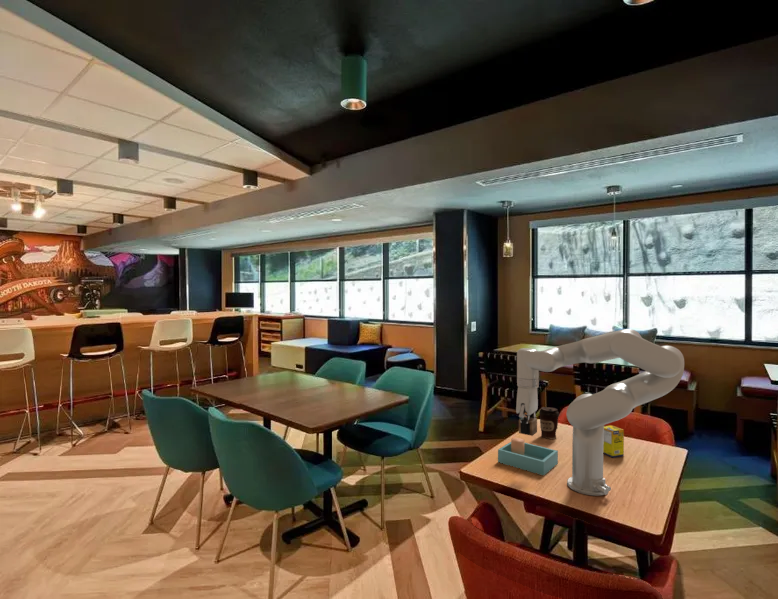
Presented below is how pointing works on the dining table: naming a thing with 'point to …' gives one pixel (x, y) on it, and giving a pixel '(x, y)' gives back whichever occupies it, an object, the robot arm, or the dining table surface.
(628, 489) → the dining table surface
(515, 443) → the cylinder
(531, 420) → the cube
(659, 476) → the dining table surface
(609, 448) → the supplement box
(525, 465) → the tote
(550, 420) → the coffee cup
